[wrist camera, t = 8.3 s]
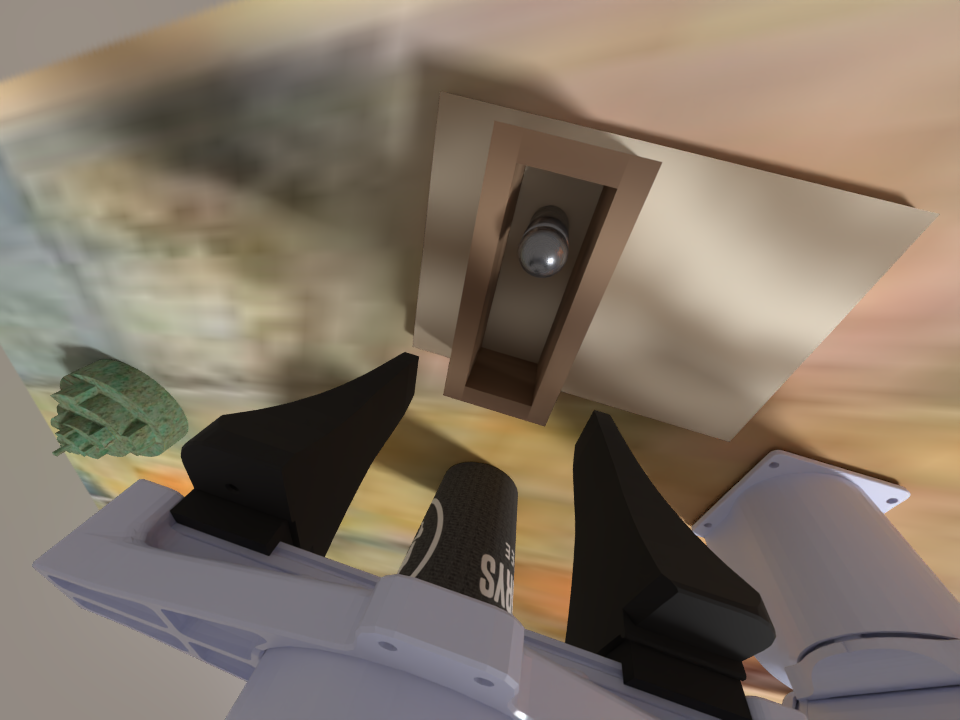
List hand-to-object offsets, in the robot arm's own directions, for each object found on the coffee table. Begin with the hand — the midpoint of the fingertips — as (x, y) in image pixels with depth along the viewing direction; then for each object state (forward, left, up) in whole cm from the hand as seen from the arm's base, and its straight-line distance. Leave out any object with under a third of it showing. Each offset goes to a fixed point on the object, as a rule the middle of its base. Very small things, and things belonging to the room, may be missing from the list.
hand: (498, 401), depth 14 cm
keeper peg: (+6, 0, -8) cm, 10 cm away
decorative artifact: (-20, +34, -8) cm, 40 cm away
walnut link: (+3, 0, -7) cm, 7 cm away
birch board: (+3, -4, -8) cm, 9 cm away
